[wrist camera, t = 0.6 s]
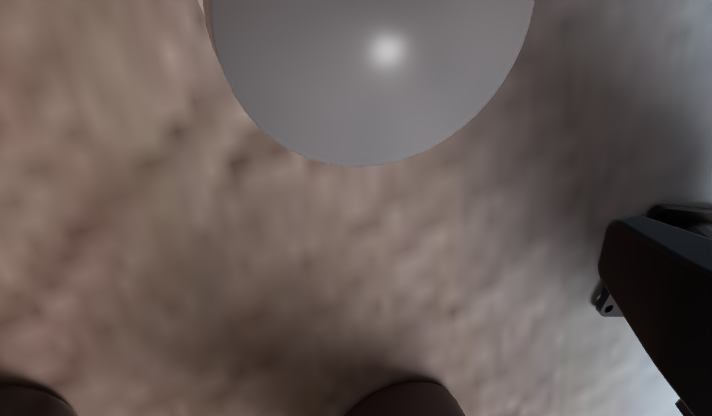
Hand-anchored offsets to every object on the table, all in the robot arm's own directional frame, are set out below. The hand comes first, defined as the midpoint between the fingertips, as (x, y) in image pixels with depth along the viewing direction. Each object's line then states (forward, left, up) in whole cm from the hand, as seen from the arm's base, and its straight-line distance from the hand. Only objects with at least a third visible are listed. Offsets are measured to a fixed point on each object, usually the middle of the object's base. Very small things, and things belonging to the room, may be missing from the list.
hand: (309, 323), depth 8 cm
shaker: (-1, -3, -13) cm, 14 cm away
